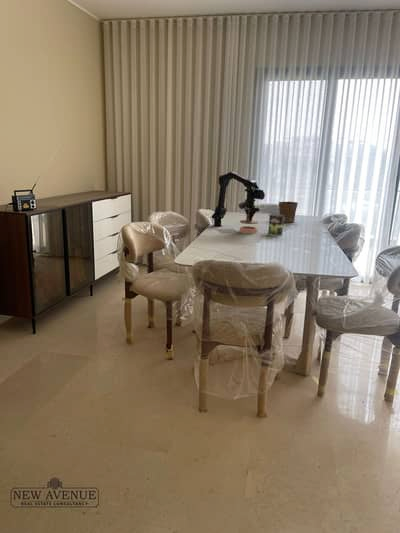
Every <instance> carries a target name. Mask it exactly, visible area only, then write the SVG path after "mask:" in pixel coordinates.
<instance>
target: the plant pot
mask: <svg viewBox="0 0 400 533" xmlns="http://www.w3.org/2000/svg"><path fill="white" fill-rule="evenodd" d="M298 205H299V203H298V202H297V201H278V208H279V209H278V210H279V213H278V214H281V215H284V221H283V224H285V223H286V224H287V223H288V224H289V223H290V224H291V223H294V222H295V218H296V211H297V208H298Z"/></svg>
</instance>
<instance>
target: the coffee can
mask: <svg viewBox="0 0 400 533" xmlns="http://www.w3.org/2000/svg"><path fill="white" fill-rule="evenodd" d="M268 219H269V220H268V230H267V231H268V233H267V235H268V236H272V237H274V236H275V237H282V236H283V230H284V222H283V221H284V215H281V214H280V213H270V214H269V218H268Z"/></svg>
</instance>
